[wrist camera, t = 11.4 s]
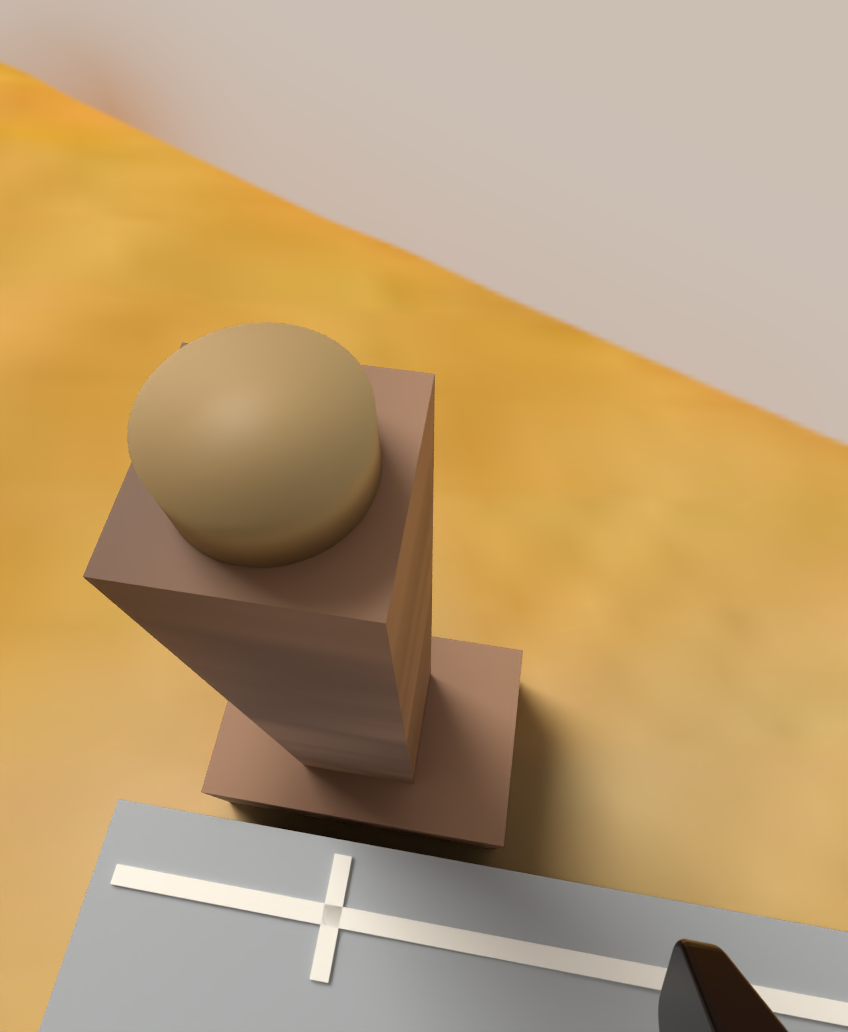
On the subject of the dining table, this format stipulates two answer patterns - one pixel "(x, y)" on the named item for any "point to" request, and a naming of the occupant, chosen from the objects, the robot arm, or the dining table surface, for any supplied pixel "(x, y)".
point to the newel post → (309, 585)
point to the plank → (390, 941)
